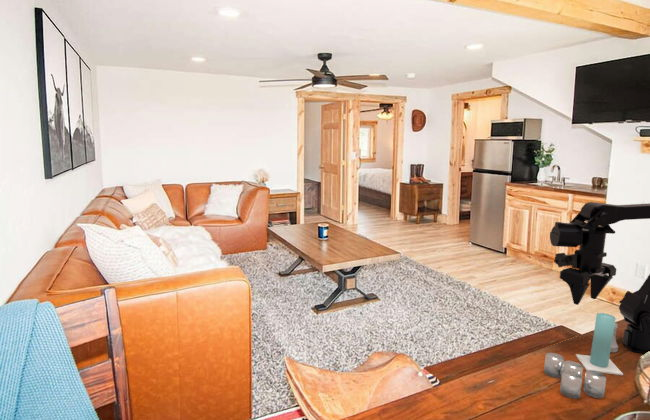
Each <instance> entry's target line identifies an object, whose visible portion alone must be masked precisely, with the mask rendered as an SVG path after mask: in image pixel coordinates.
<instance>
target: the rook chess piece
mask: <svg viewBox="0 0 650 420" xmlns="http://www.w3.org/2000/svg"><path fill="white" fill-rule="evenodd" d="M618 329H619V326H618V323H617V322H616V321H615V325H614V331H613V338H612V344H611V350H610V353H612V354H613V353H617V352H618V351H619V345H618V342H617V338H616V336H617V333H618V331H617V330H618Z"/></svg>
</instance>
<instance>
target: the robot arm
mask: <svg viewBox="0 0 650 420" xmlns="http://www.w3.org/2000/svg"><path fill="white" fill-rule="evenodd" d="M645 219H646V220H648V219H650V203H633V204H632V203H631V204H610V203H605V202H604V203H603V202H596V201H595V202H593V201H588V202H586V203H585V204H583V206H581V208H580V210H579V213H577V214H576V216H574V217H573V219H572V220H570V221H569V222H563V221H562V222H559V221H556V222H554V226H553V227H552V229H551V230H550V232H549V241H550V244H551V245H552V246H553V247H562V248H563V247H565V248H566V247H567V248H577V247H578V246H579V249H575V251H574V253H572V254H566V253H565V252H560V253H556V254H555V256H554V259H553V262H554V263H555V264H556V265H557V266H558V268H563V267H567V268H564V269H562V270H561V271H559V279H561V280H562V282H565V283H566V284H567V285H568V286H569V289H570V290H569V291H570V295H571V297H572V301H573V304H575V305H577V306H578V305H579V304H580V303H581V301H582V299H583V297H584V296H585V293H586V292H587V290H588V288H589V287H590V298H591V299H593V300H596V299H597V298H598V296H599V295H600V294H601V292H602V291H603V290H604V288H605V287H606V286H607V284H609V282H610V281H611V280H612V279H614V278H613V277H614V276H616V274H617V268H616V267H615V265H613V264H610V263H605V262H603V260H604V258H606V257H607V252H605V245H606V239H607V238H606V236H607V234H612V235H613V234H616V230H614V229H613V228H612V227H611V225H612V224H616V223H618V222H620V221H625V220H627V221H628V220H645ZM570 266H571V267H570ZM618 309H619V312H620V314H621V315H622V317H623V319H624V321H625V322H626V323H627V325H626V328H625V329H624V330H623V331H624V332H623V339H622V340H621V343H622V344H624V345H625V346H626V348H628V349H629V350H630V351H631V352H633V353H641V354H647V353H646V352H648V351H650V274H649V275H647V277H646V279H645V281H644V282H643V284H642V285H641V286H640V288H638V290H635V291H633V292H631V291H629V290H627V291H626V292H625V294H624V296H623V298H622V299H621V300H619V306H618Z"/></svg>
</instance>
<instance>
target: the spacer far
mask: <svg viewBox="0 0 650 420" xmlns="http://www.w3.org/2000/svg"><path fill="white" fill-rule="evenodd" d="M583 379H584V378H583V375H582V376H581V375H579V374H578V373H575V372H572V371H563V372H562V377H561V379H560V380H561V381H560V389H559V392H560V394H561V395H563V396H564V397H566V398H569V399H571V400H572V399H573V400H577V399H580V398H581V393H582V387H583Z"/></svg>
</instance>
